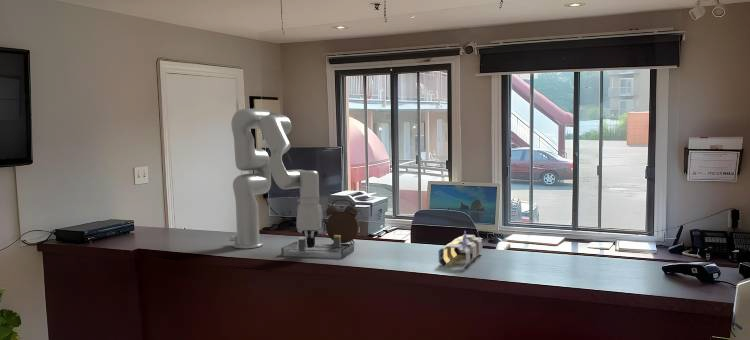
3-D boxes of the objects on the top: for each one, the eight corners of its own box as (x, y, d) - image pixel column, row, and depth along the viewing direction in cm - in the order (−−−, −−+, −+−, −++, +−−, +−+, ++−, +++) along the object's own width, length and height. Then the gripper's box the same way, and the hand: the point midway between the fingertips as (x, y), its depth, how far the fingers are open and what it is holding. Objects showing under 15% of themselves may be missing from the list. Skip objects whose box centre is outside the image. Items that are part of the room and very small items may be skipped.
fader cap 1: (298, 249, 221) (298, 238, 220) (300, 248, 222) (299, 237, 222) (304, 249, 220) (303, 238, 220) (306, 248, 222) (305, 237, 221)
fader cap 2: (333, 247, 224) (333, 235, 224) (335, 246, 226) (335, 235, 226) (339, 247, 223) (339, 236, 223) (341, 246, 225) (340, 235, 225)
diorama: (466, 269, 194) (466, 232, 194) (438, 267, 198) (438, 231, 198) (482, 255, 217) (481, 222, 217) (456, 253, 221) (456, 221, 221)
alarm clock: (360, 242, 244) (359, 198, 243) (358, 246, 237) (357, 200, 236) (328, 242, 246) (327, 198, 245) (325, 246, 239) (324, 200, 237)
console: (281, 256, 220) (281, 248, 220) (295, 249, 233) (295, 241, 233) (343, 258, 213) (343, 250, 213) (354, 251, 227) (353, 243, 226)
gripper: (288, 202, 217) (289, 248, 218) (324, 203, 213) (325, 249, 215) (296, 200, 225) (297, 244, 226) (330, 200, 221) (331, 246, 222)
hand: (310, 247), depth 220 cm, fingers closed
